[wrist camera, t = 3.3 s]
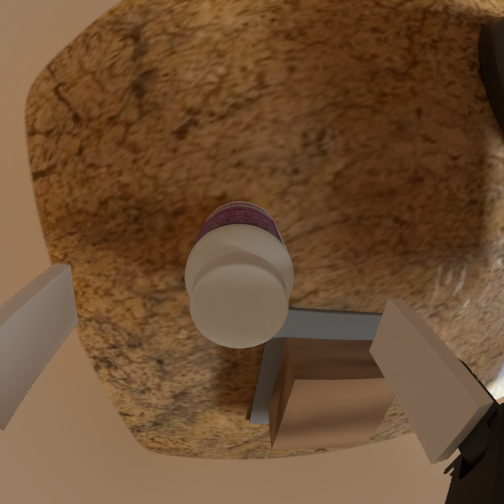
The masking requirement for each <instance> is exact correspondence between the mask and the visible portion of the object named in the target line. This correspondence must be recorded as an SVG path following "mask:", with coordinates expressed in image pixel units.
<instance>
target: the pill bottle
mask: <svg viewBox="0 0 504 504" xmlns="http://www.w3.org/2000/svg"><path fill="white" fill-rule="evenodd" d="M185 285H186V289H187V292H188V295H189V297H190V313H191V317H192V319H193V322H194V323H195V325H196V327H197V328H198V330H199V331H200V332H201V333H202V334H203V335H204V336H205V337H206V338H208V339H209V340H211V341H213V342H215V343H217V344H219V345H222V346H225V347H230V348H249V347H254V346H257V345H260V344H262V343H265V342H266V341H268V340H270V339H271V338H272V337H273V336H275V335H276V334H277V333H278V331H279V330H280V329H281V328H282V326H283V324H284V323H285V320H286V318H287V314H288V308H289V303H288V300H289V298H290V295H291V293H292V289H293V285H294V268H293V263H292V260H291V258H290V255H289V253H288V250H287V248H286V246H285V244H284V242H283V239H282V237H281V235H280V232H279V230H278V228H277V225H276V223H275V221H274V219H273V218H272V216H271V215H270V214H269V213H268V212H267V211H266V210H265V209H263V208H262V207H261V206H259V205H257V204H254V203H251V202H246V201H233V202H229V203H226V204H224V205H222V206H220V207H218V208H217V209H216V210H214V211H213V212H212V213H211V214H210V215H209V217H208V218H207V220H206V221H205V223H204V225H203V227H202V229H201V231H200V233H199V235H198V238H197V239H196V242H195V243H194V245H193V248H192V250H191V251H190V254H189V257H188V260H187V263H186V268H185Z"/></svg>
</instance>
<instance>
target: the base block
mask: <svg viewBox="0 0 504 504" xmlns="http://www.w3.org/2000/svg"><path fill="white" fill-rule="evenodd" d="M372 342H373V340H339V339H313V338H294V337H286V340H285V344H284V348H283V352H282V356H281V360H280V365H279V369H278V373H277V377H276V381H275V384H274V388H273V392H272V396H271V400H270V404H269V407H268V414H269V425H270V436H271V447H272V449H274V450H284V449H316V448H330V447H342V446H351V445H360V444H366V443H367V441H368V440H369V438H370V437H371V436H372V434H373V433H374V431H375V429H376V428H377V426H378V425H379V423H380V422H381V420H382V419H383V417H384V415H385V414H386V412H387V410H388V409H389V407H390V405H391V404H392V402H393V400H394V399H395V395H394V393H393V391H392V389H391V388H390V386H389V384H388V382H387V381H386V379H385V377H384V375H383V374H382V372H381V370H380V368H379V367H378V365H377V363H376V362H375V360H374V358H373V356H372V355H371V353H370V351H369V350H370V347H371V345H372Z"/></svg>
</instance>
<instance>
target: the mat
mask: <svg viewBox="0 0 504 504" xmlns="http://www.w3.org/2000/svg"><path fill="white" fill-rule="evenodd" d="M382 315H383V313H364V312H345V311H329V310H314V309H301V308H288V314H287V318H286V320H285V323H284V324H283V326H282V328H281V329H280V330H279V331H278V333H277V334H276V335H275V336H273V337H272V338H271V339H270V340H268V341H266V342H265V346H264V352H263V357H262V362H261V367H260V372H259V377H258V381H257V386H256V391H255V396H254V401H253V405H252V410H251V415H250V419H249V423H259V424H269V414H268V407H269V404H270V400H271V396H272V392H273V388H274V384H275V381H276V377H277V373H278V369H279V365H280V360H281V356H282V352H283V348H284V344H285V340H286V337H294V338H313V339H339V340H374V337H375V334H376V332H377V329H378V326H379V323H380V321H381V318H382Z"/></svg>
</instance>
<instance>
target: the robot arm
mask: <svg viewBox="0 0 504 504" xmlns="http://www.w3.org/2000/svg"><path fill="white" fill-rule="evenodd" d="M479 56H480V64H481V70H482V75H483V79H484V83H485V87H486V90H487V93H488V96H489V99H490V102H491V105H492V107H493V110H494V112H495V115H496V117H497V119H498V121H499V123H500V125H501V127H502V129H503V131H504V17H501V18H497V19H494V20H491V21H489V22H488V23H486V24H485V26H484V27H483V29H482V31H481V35H480V40H479ZM77 324H78V316H77V311H76V304H75V298H74V290H73V283H72V274H71V265H68V264H61V263H55V264H54V265H52V266H51V267H50V268H48V269H47V270H46V271H44V272H43V273H42V274H41V275H39V276H38V277H37V278H35V279H34V280H33V281H32V282H30V283H29V284H28V285H27V286H25V287H24V288H23V289H22V290H20V291H19V292H18V293H17V294H15V295H14V296H13V297H12V298H11V299H10V300H9V301H7V302H6V303H5V304H4V305H2V306H1V307H0V429H2V430H4V429H5V428H6V426H7V424H8V422H9V421H10V419H11V418H12V416H13V414H14V413H15V411H16V410H17V408H18V407H19V405H20V403H21V402H22V400H23V399H24V397H25V396H26V394H27V393H28V391H29V390H30V388H31V387H32V385H33V384H34V382H35V381H36V379H37V378H38V376H39V375H40V374H41V372H42V371H43V369H44V368H45V367H46V365H47V364H48V362H49V361H50V359H51V358H52V357H53V355H54V354H55V353H56V351H57V350H58V349H59V347H60V346H61V345H62V343H63V342H64V341H65V339H66V338H67V337H68V335H69V334H70V333H71V331H72V330H73V329H74V328H75V326H76V325H77ZM369 351H370V353H371V355H372V356H373V358H374V360H375V362H376V363H377V365H378V367H379V368H380V370H381V372H382V374H383V375H384V377H385V379H386V381H387V382H388V384H389V386H390V388H391V389H392V391H393V393H394V395H395V397H396V398H397V400H398V402H399V404H400V406H401V407H402V409H403V411H404V413H405V415H406V417H407V418H408V420H409V422H410V424H411V426H412V428H413V430H414V432H415V433H416V435H417V437H418V439H419V441H420V443H421V445H422V447H423V449H424V450H425V453H426V455H427V457H428V459H429V461H430V463H431V465H432V464H435V463H438V462H441V461H443V460H446V459H448V458H449V457H450V456H451V455H452V454H453V453H454V451H455V450H456V449H457V448H458V449H459V451H460V452H461V454H460V455H459V456H458V457H457V458H456V459H455V460H454V461H453V462H452V463H451V464H450V465H449V466H448V467H447V468H446V469H445V472H444V474H447V473H448V472H449V471H450V470H451V469H452V468H453V467H454V470H453V471H452V473H451V474H450V475H451V476H452V479H451V484H450V487H449V491H448V495H447V498H446V502H445V504H504V403H502V404H500V405H499V404H498V402H497V401H496V400H495V399H494V397H493V396H492V395H491V394H490V392H489V391H488V390H487V389H486V388H485V386H484V385H483V384H482V383H481V381H480V380H478V378H477V377H476V376H475V374H474V373H473V374H472V371H471V370H470V368H469V367H468V366H467V365H466V364H465V363H464V362H463V361H461V360H460V359H458V358H457V357H456V356H455V355H454V353H453V352H452V351H451V350H450V349H449V348H448V347H447V346H446V344H445V343H444V342H443V341H442V340H441V339H440V338H439V337H438V336H437V334H436V333H435V332H434V331H433V330H432V329H431V328H430V327H429V326H428V325H427V324H426V323H425V321H424V320H423V319H422V318H421V317H420V316H419V315H418V314H417V313H416V312H415V311H414V310H413V309H412V308H411V307H410V306H409V305H408V304H407V303H406V302H405V301H404V300H403V299H400V298H388V300H387V303H386V306H385V309H384V312H383V315H382V318H381V321H380V323H379V326H378V329H377V332H376V334H375V337H374V340H373V342H372V345H371V347H370V350H369Z"/></svg>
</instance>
